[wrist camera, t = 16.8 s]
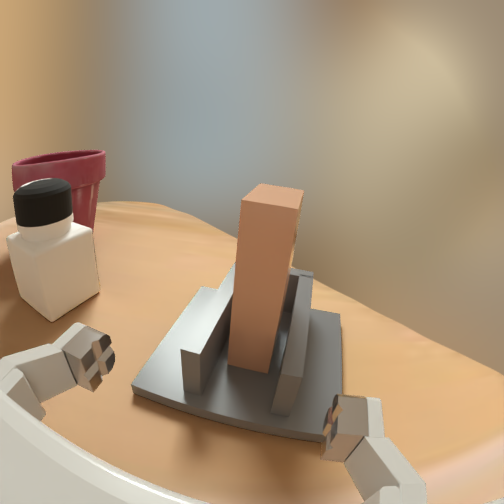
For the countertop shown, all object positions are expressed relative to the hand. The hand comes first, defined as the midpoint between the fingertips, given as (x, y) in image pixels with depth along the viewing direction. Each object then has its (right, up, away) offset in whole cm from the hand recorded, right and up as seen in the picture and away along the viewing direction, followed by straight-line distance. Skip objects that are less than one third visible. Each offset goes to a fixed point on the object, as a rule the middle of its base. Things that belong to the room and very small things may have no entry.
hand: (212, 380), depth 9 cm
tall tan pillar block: (+2, -3, +13) cm, 14 cm away
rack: (+1, -4, +14) cm, 14 cm away
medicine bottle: (-19, 0, +17) cm, 26 cm away
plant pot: (-26, +6, +28) cm, 39 cm away
